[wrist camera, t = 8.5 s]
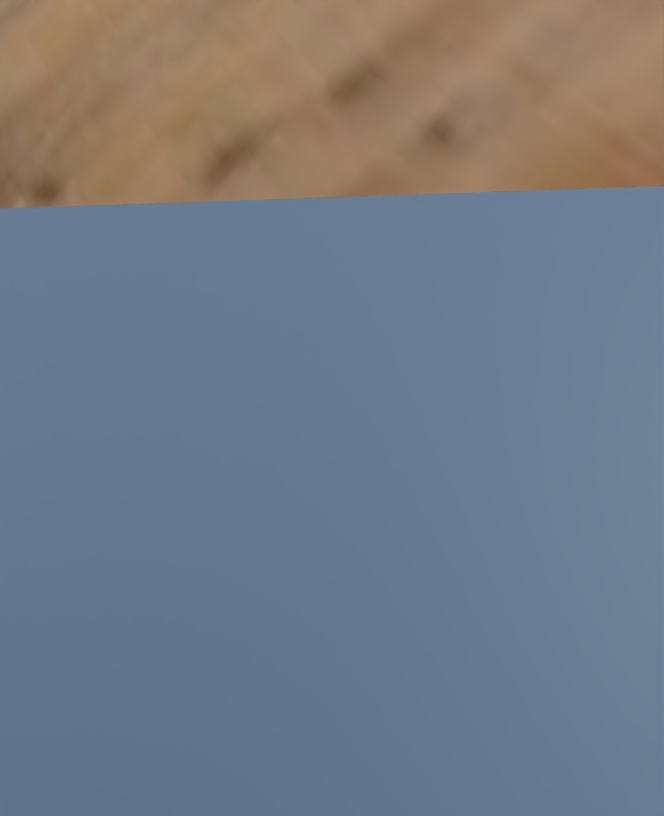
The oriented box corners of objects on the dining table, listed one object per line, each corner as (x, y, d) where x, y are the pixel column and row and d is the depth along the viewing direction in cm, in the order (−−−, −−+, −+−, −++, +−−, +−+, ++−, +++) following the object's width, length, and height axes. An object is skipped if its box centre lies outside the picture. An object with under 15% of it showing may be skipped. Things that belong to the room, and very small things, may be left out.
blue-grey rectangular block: (508, 735, 13) (702, 1815, 2) (279, 686, 15) (-317, 1148, 4) (523, 453, 15) (688, 184, 3) (312, 435, 16) (-47, 210, 5)
